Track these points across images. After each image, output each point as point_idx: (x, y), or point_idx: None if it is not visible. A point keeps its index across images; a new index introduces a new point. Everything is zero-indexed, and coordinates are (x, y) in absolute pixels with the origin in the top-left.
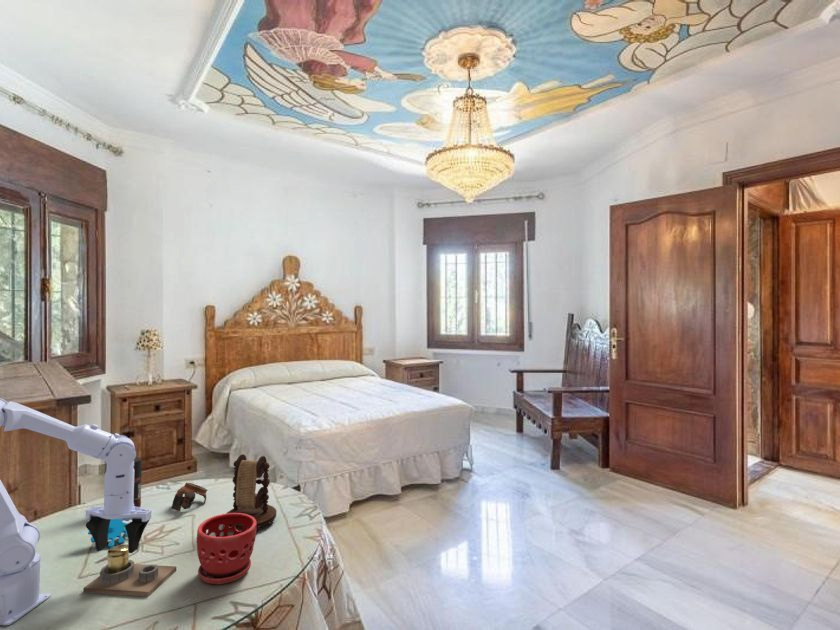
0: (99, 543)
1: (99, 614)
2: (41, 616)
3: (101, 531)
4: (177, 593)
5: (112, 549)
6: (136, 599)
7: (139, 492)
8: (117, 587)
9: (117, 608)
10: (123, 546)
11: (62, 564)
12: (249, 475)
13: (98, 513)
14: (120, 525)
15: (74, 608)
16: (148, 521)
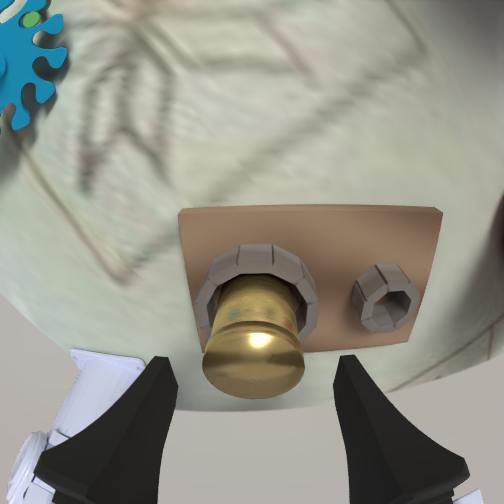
0: (169, 419)
1: (319, 391)
2: (196, 401)
3: (148, 460)
4: (461, 308)
5: (223, 374)
6: (377, 346)
7: None
8: (308, 344)
9: None
10: (258, 351)
11: (19, 225)
12: None
13: None
14: (7, 36)
15: None
16: (453, 456)
